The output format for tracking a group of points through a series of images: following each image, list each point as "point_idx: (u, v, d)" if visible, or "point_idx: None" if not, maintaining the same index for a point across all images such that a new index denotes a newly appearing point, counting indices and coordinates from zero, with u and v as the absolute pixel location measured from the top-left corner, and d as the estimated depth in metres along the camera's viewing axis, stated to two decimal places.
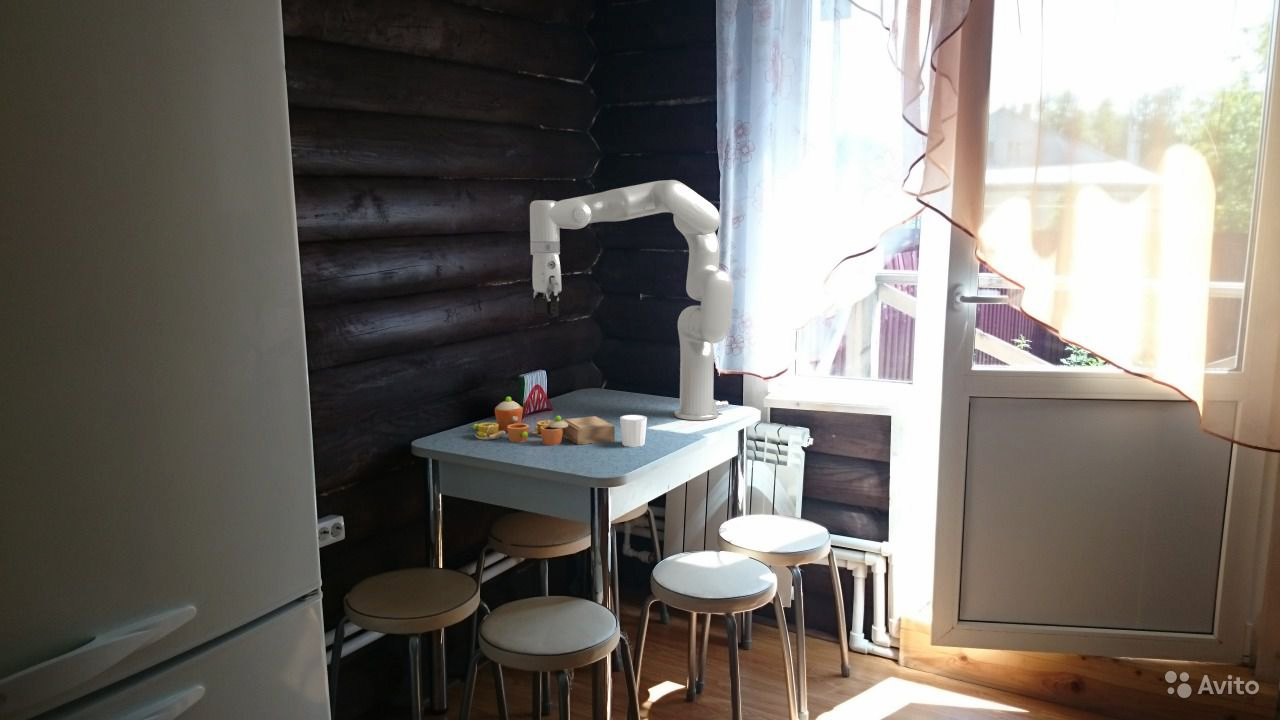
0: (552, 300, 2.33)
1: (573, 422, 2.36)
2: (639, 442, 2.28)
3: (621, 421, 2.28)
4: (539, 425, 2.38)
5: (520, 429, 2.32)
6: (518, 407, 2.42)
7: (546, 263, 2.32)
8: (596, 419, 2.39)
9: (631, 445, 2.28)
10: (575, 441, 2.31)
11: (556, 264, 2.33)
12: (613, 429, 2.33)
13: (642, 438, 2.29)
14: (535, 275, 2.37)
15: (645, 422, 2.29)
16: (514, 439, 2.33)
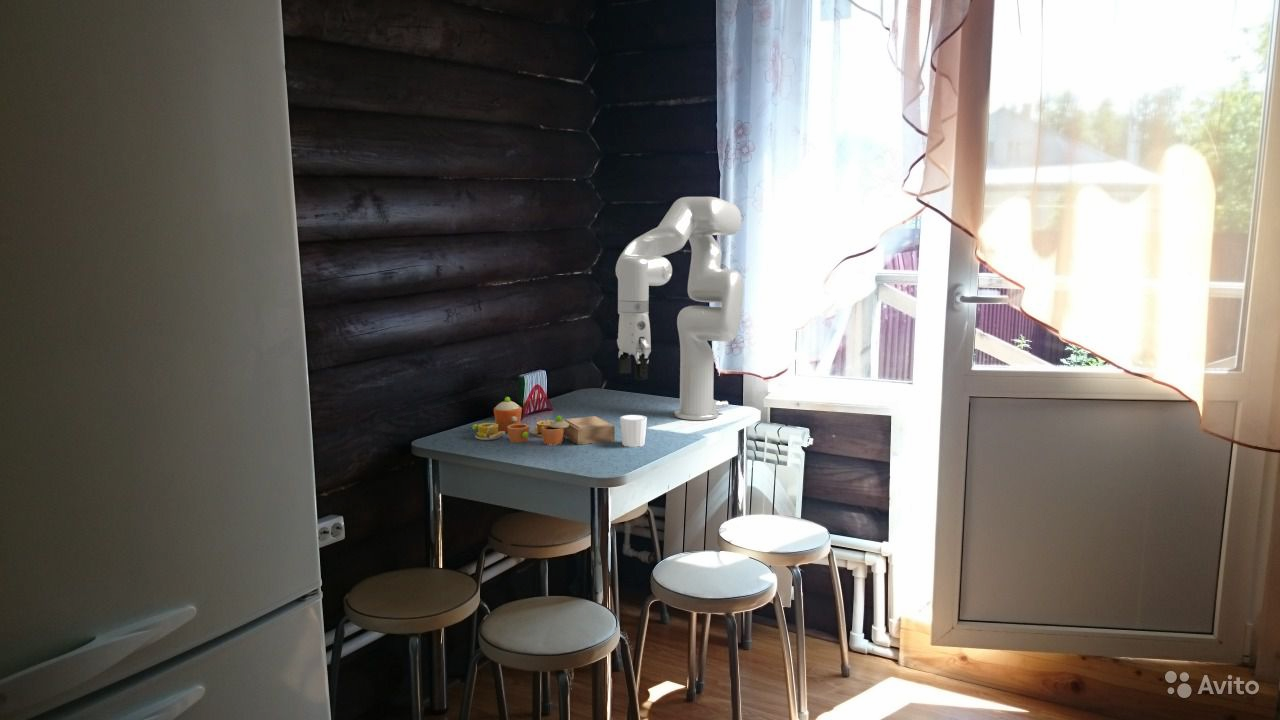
0: (642, 362, 2.21)
1: (573, 422, 2.36)
2: (639, 442, 2.28)
3: (621, 421, 2.28)
4: (539, 425, 2.38)
5: (521, 429, 2.32)
6: (517, 407, 2.42)
7: (636, 324, 2.21)
8: (596, 419, 2.39)
9: (631, 445, 2.28)
10: (575, 441, 2.31)
11: (646, 324, 2.22)
12: (613, 429, 2.33)
13: (642, 438, 2.29)
14: (622, 335, 2.26)
15: (645, 422, 2.29)
16: (515, 440, 2.32)
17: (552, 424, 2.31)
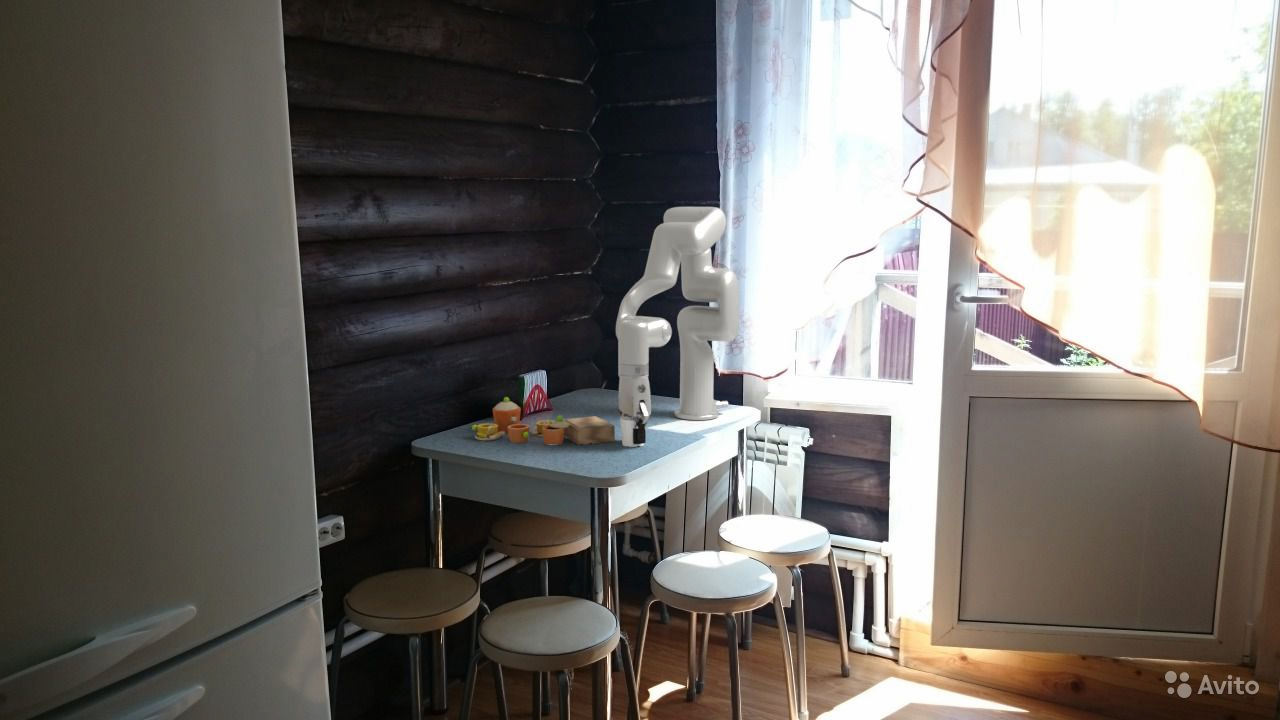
0: (640, 427, 2.26)
1: (573, 422, 2.36)
2: None
3: (621, 421, 2.28)
4: (539, 425, 2.38)
5: (521, 429, 2.32)
6: (516, 407, 2.42)
7: (636, 387, 2.24)
8: (596, 419, 2.39)
9: (631, 445, 2.28)
10: (575, 441, 2.31)
11: (646, 388, 2.25)
12: (613, 429, 2.33)
13: None
14: (623, 397, 2.29)
15: None
16: (516, 440, 2.32)
17: (553, 424, 2.31)
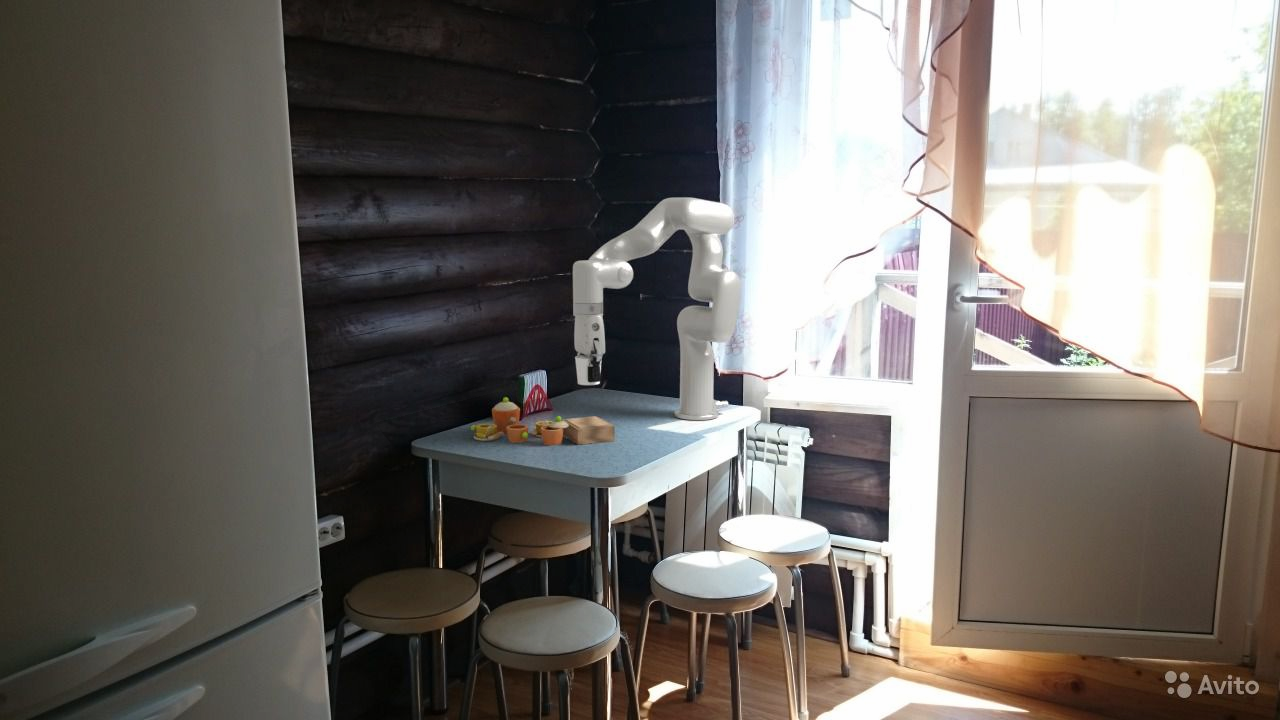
0: (594, 365, 2.30)
1: (573, 422, 2.36)
2: None
3: (576, 360, 2.32)
4: (538, 426, 2.37)
5: (520, 430, 2.31)
6: (516, 408, 2.42)
7: (590, 325, 2.28)
8: (596, 419, 2.39)
9: (586, 383, 2.32)
10: (575, 441, 2.31)
11: (600, 326, 2.29)
12: (613, 429, 2.33)
13: None
14: (578, 336, 2.33)
15: None
16: (514, 440, 2.32)
17: (552, 424, 2.30)
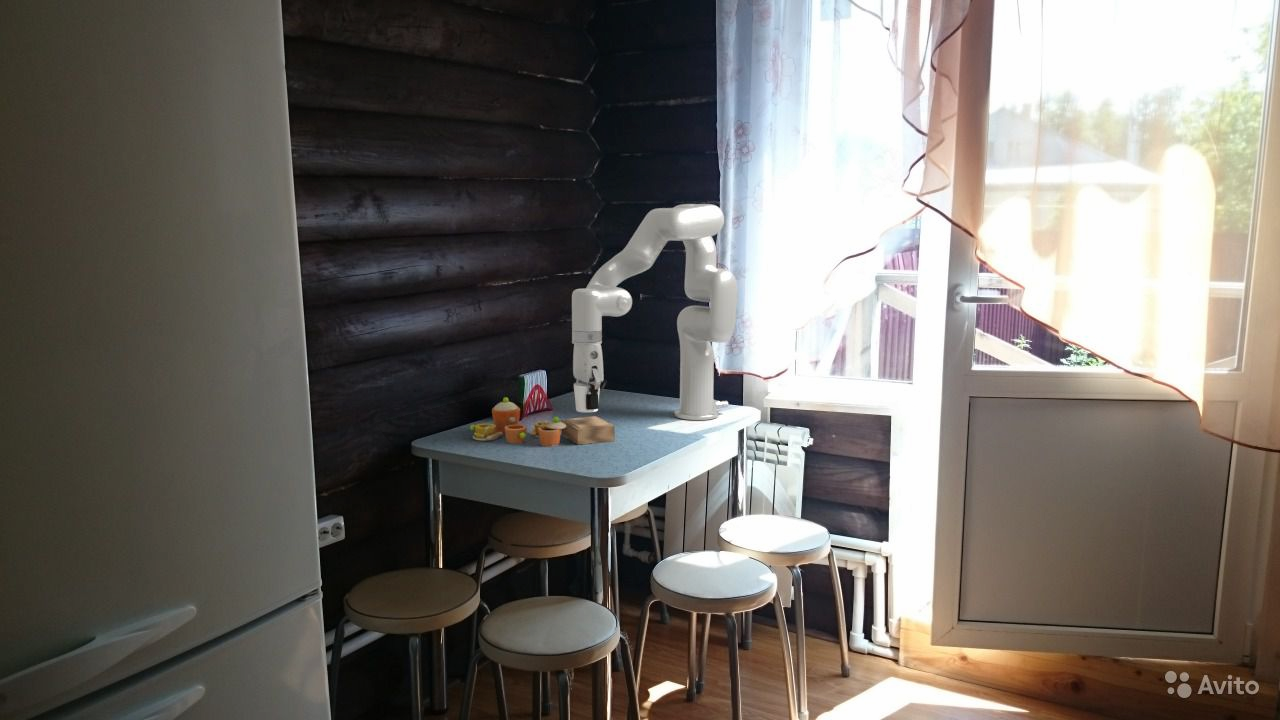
0: (592, 393, 2.31)
1: (573, 422, 2.36)
2: None
3: (574, 387, 2.34)
4: (537, 426, 2.37)
5: (518, 430, 2.31)
6: (515, 408, 2.41)
7: (588, 353, 2.29)
8: (596, 419, 2.39)
9: (584, 410, 2.33)
10: (575, 441, 2.31)
11: (598, 354, 2.30)
12: (613, 429, 2.33)
13: None
14: (576, 364, 2.34)
15: None
16: (512, 441, 2.31)
17: (549, 425, 2.30)
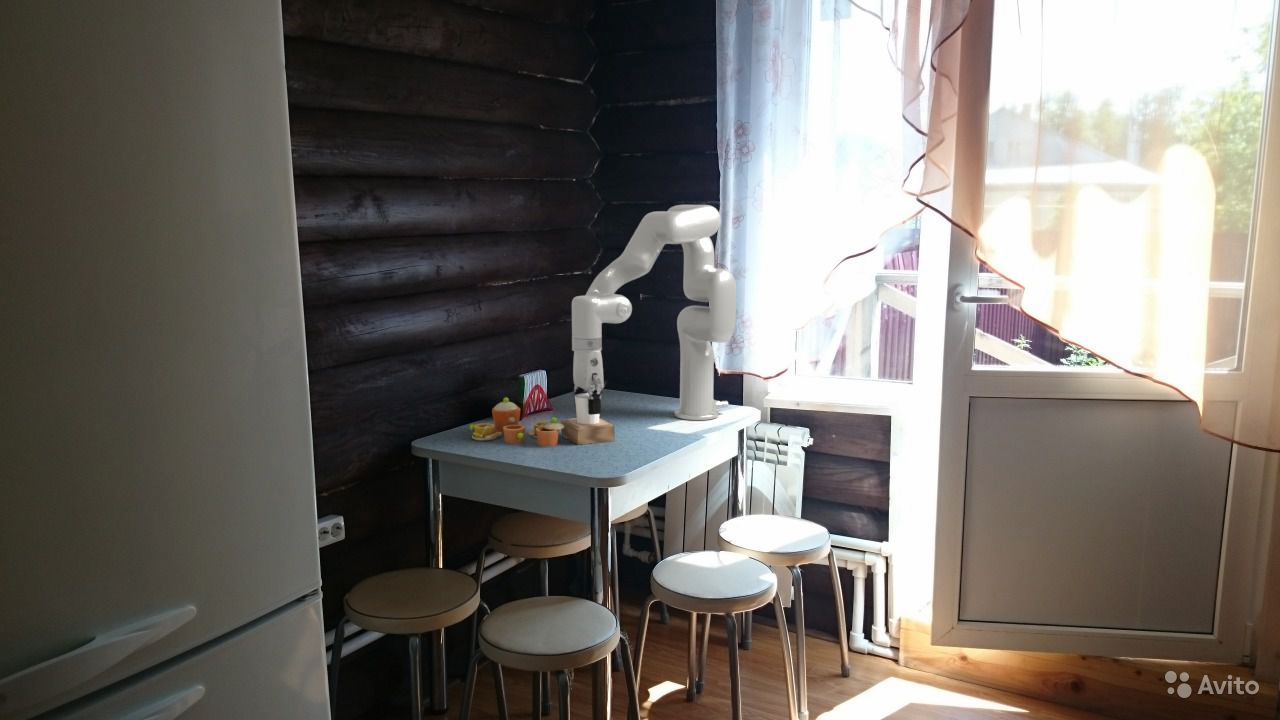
0: (594, 398, 2.30)
1: (573, 422, 2.36)
2: (594, 419, 2.34)
3: (576, 399, 2.34)
4: (536, 426, 2.36)
5: (516, 430, 2.31)
6: (515, 408, 2.41)
7: (589, 361, 2.29)
8: None
9: (585, 422, 2.34)
10: (575, 441, 2.31)
11: (598, 361, 2.30)
12: (613, 429, 2.33)
13: (596, 415, 2.34)
14: (576, 371, 2.34)
15: None
16: (510, 441, 2.31)
17: (547, 426, 2.29)
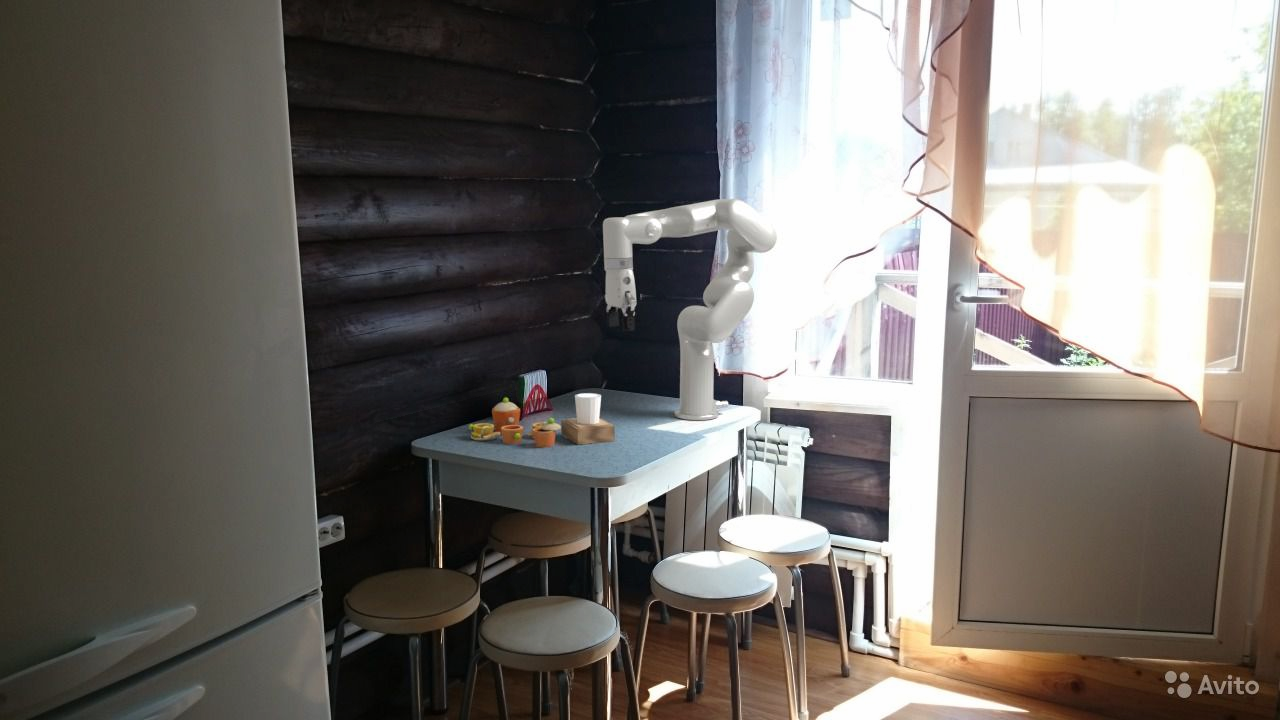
0: (628, 315, 2.39)
1: (573, 422, 2.36)
2: (594, 419, 2.34)
3: (576, 399, 2.34)
4: (534, 427, 2.36)
5: (513, 431, 2.30)
6: (515, 408, 2.41)
7: (621, 279, 2.39)
8: None
9: (585, 422, 2.34)
10: (575, 441, 2.31)
11: (631, 279, 2.40)
12: (613, 429, 2.33)
13: (596, 415, 2.34)
14: (609, 290, 2.44)
15: (599, 400, 2.34)
16: (508, 441, 2.31)
17: (544, 426, 2.28)
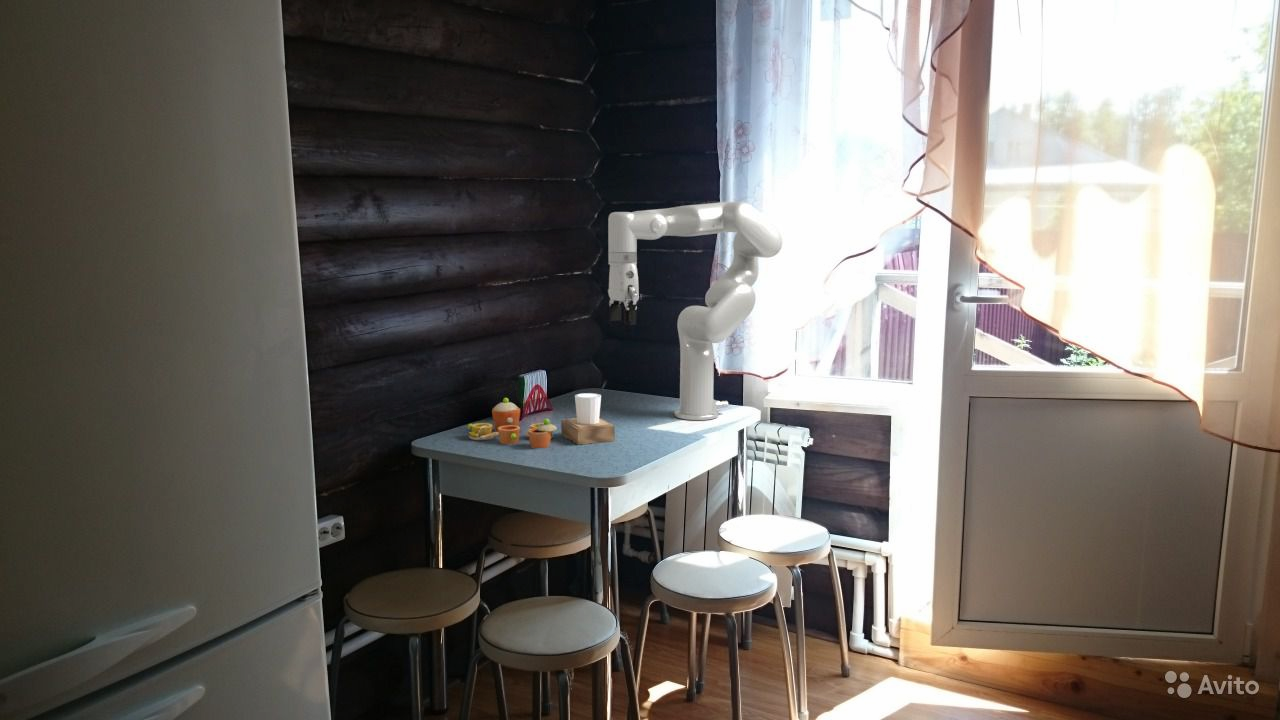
0: (630, 309, 2.40)
1: (573, 422, 2.36)
2: (594, 419, 2.34)
3: (576, 399, 2.34)
4: (532, 428, 2.35)
5: (509, 431, 2.30)
6: (514, 409, 2.41)
7: (625, 273, 2.40)
8: None
9: (585, 422, 2.34)
10: (575, 441, 2.31)
11: (634, 274, 2.41)
12: (613, 429, 2.33)
13: (596, 415, 2.34)
14: (612, 284, 2.45)
15: (599, 400, 2.34)
16: (504, 441, 2.31)
17: (539, 427, 2.27)
